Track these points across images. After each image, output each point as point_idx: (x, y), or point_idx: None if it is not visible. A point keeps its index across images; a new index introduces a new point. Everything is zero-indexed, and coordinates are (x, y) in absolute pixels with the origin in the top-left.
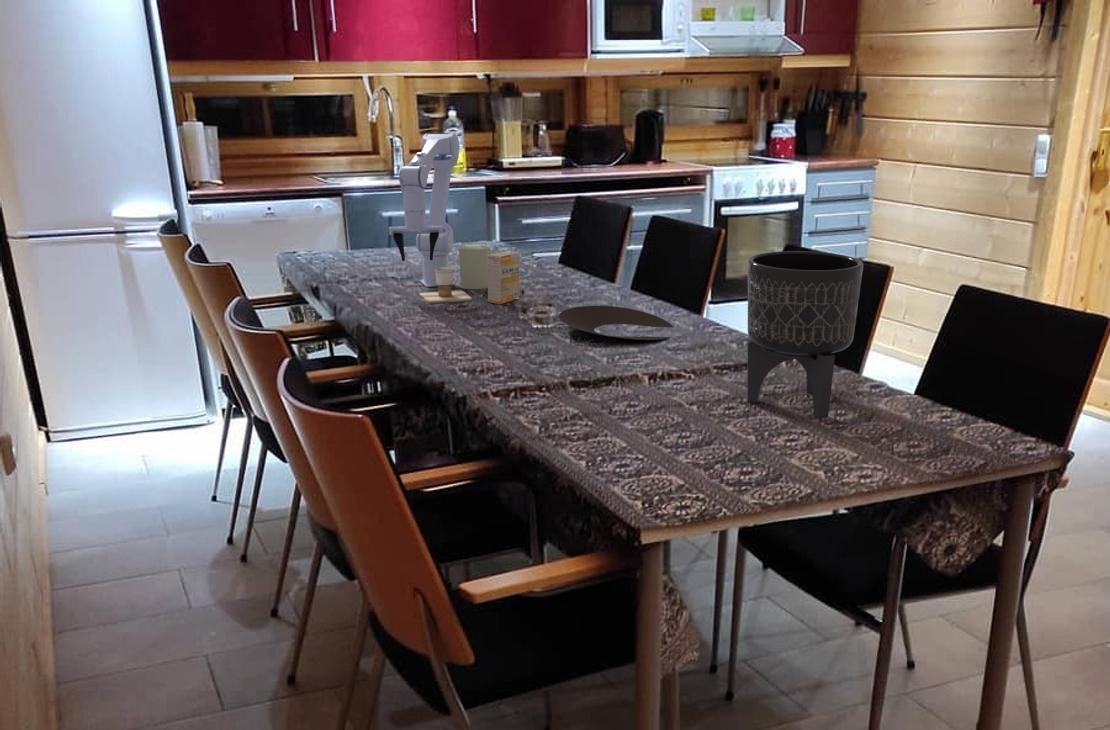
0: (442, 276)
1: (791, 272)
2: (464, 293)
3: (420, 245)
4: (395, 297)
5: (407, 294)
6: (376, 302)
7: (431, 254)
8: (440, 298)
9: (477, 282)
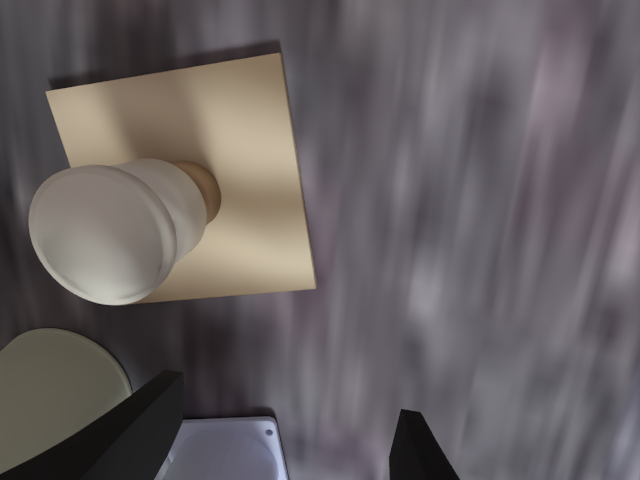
0: (133, 168)
1: None
2: None
3: None
4: (437, 268)
5: (371, 315)
6: (558, 178)
7: (139, 397)
8: (211, 130)
9: (29, 347)
